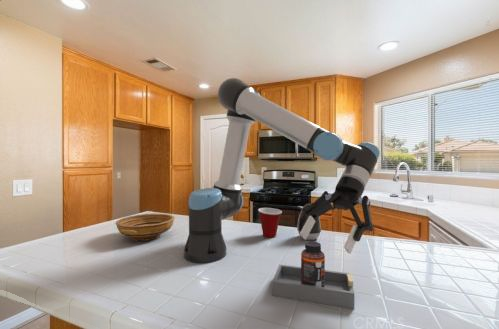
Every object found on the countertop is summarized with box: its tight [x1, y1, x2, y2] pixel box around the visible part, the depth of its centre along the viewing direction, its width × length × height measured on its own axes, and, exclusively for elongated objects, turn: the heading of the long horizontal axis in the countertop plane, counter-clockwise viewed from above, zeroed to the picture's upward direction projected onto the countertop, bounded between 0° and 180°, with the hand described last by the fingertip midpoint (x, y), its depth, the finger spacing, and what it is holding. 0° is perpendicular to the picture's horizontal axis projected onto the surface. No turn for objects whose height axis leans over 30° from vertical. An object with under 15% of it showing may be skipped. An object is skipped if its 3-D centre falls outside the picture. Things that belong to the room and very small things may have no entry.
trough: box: [272, 264, 355, 310], centre depth 62 cm, size 19×10×5 cm, turn 73°
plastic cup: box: [258, 207, 283, 239], centre depth 108 cm, size 11×11×12 cm
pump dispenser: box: [296, 203, 322, 241], centre depth 105 cm, size 10×10×15 cm
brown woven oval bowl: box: [115, 213, 176, 241], centre depth 107 cm, size 30×24×8 cm
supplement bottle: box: [300, 240, 326, 287], centre depth 62 cm, size 6×6×11 cm
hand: (323, 243), depth 64 cm, fingers open, 13 cm apart
